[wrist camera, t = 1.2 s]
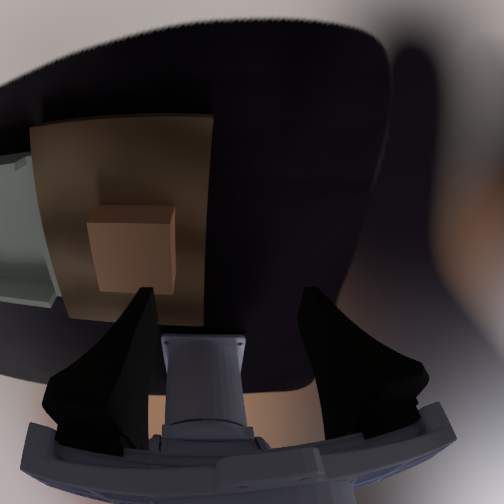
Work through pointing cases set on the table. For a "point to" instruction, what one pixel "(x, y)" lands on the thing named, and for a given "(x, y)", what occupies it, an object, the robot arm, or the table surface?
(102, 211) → the block
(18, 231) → the box
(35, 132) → the board
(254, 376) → the table surface
